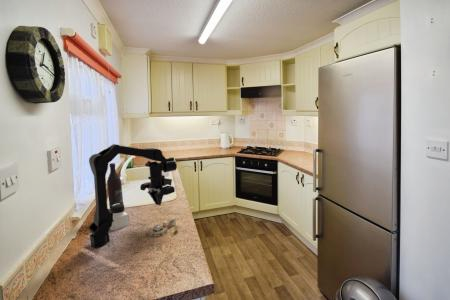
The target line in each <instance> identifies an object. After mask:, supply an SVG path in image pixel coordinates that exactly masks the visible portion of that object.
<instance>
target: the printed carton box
mask: <svg viewBox="0 0 450 300" xmlns="http://www.w3.org/2000/svg"><path fill="white" fill-rule="evenodd" d="M111 211H112V212H113V220H114V222H112V226H111V227H110V228H109V229H111V230H112V231H116V230H119V229H121V228H124V227H127V226H130V217H129V213H127V212H125V211H126V209H125V205H124V203H123V204H114V205H113V206H112V207H111Z"/></svg>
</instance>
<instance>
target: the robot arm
mask: <svg viewBox="0 0 450 300" xmlns="http://www.w3.org/2000/svg"><path fill="white" fill-rule="evenodd" d="M117 155H124V156H125V155H126V156H134V157H141V158H144V159H147V160H148V161H147V162H146V163H145V164H144V166H145V167H148V168H149V176H148V177H147V178H148V180H149V181H150V182H149V181H148V182H145V183H141V185H140V191H146V190H147V189H148V191H147V194H148V195H149V196H150V198H151V199H152V200H153V202H154V204H155V205H156V206H161V205H162V201H163V199H164V196H167V195H170V194H172V193H175V192H176V190H175V189H176V188H175V187H174V186H173V185H172V182H173V178H172V179H171V178H166V177H165V175H164V174H163V173H169V172H175V171H176V170H177V168H178V164H177V162H176V160H175V157H167V158H166V157H165V156H164V154H163V151H162V150H161V149H159V148H154V147H152V148H151V147H150V148H149V147H146V148H138V147H134V146H133V147H131V146H125V145H120V144H116V143H112V144H111V145H110V146H108V147H107V148H104V149H103V150H101V151H99V152H98V153H94V154H92V155H91V156H90V157H89V158H88V159H89V160H88V163H89V166H90V169H91V172H92V175H93V182H94V195H95V196H94V197H95V211H94V213H93V221H92V223H91V224H90V225H89V227H88V231H89V233H91V234H90V235H89V240H90V247H91V248H93V249H97V248H101V247H104V246H106V245H107V244H108V243H110V242H111V241H110V240H111V238H110V234H109V232H110V231H109V230H110V229H111V228H110V227H111V226H112V222H114V220H113V212H112V211H110V208H108V191H107V177H106V175H107V172H108V169H109V164H110V163H111V162H112V161H113V160H114V159H115V158H116V157H117Z"/></svg>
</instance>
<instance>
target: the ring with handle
mask: <svg viewBox="0 0 450 300" xmlns="http://www.w3.org/2000/svg"><path fill="white" fill-rule="evenodd" d="M176 219H177V218H175V217H170V218H168V219H166V220H165V221H162V225H160V224H159V225H160V226H161V231H160V232H155V229H154V226H152V227H150V228H148V230H147V235H148V236H150V237H154V238H155V237H160V236H164V235H166V234H167V233H168V229H169V228H172V227H174V225H176V224H177V222H176V221H177V220H176Z"/></svg>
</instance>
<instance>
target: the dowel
mask: <svg viewBox="0 0 450 300" xmlns="http://www.w3.org/2000/svg"><path fill="white" fill-rule="evenodd" d="M173 227H174V233H178V232H179V224H177V223H176V224H175V225H173Z"/></svg>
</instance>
